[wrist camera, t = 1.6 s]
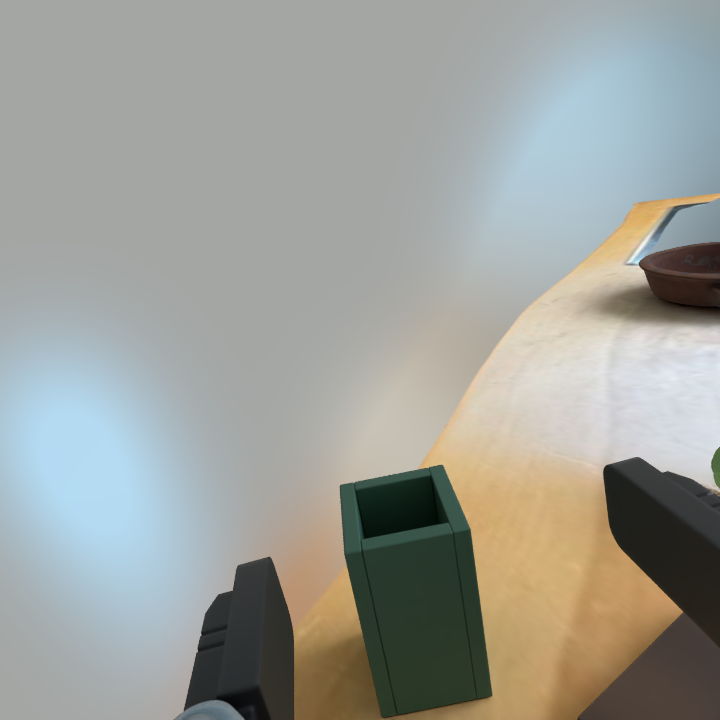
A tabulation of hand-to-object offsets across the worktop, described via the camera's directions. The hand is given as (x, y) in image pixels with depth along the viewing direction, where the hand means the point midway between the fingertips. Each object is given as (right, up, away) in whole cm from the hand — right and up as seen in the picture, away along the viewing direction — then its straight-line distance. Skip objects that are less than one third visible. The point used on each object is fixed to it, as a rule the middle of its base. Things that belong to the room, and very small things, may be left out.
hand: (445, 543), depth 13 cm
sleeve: (+1, -10, +14) cm, 17 cm away
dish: (+43, +12, +55) cm, 71 cm away
